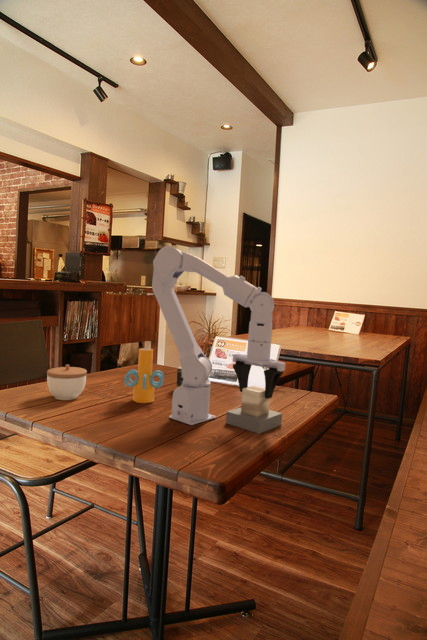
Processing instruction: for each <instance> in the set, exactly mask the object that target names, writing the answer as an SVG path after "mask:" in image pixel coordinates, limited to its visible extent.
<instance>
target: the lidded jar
mask: <svg viewBox="0 0 427 640" xmlns="http://www.w3.org/2000/svg"><path fill="white" fill-rule="evenodd" d="M87 374H88V371H87V369H86V368H84V367H83V368H82V367H76V366H70V364H65V366H61V367H60V366H59V367H53V368H49V369H48V370H47V371H46V376H47V378H46V380H47V388H48V390H49V392H50V394H51V395H52V396H53V397H54V399H56V400H58V401H70V400H75V399H77V398H78V397H79V396H80V395H81V394H82V393H83V392H84V389H85V387H86V383H87Z"/></svg>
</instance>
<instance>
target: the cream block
mask: <svg viewBox="0 0 427 640" xmlns="http://www.w3.org/2000/svg"><path fill="white" fill-rule="evenodd" d="M270 400H271V398H269V399H266V398H265V387H261V386H256V385H251V386H248V387H246V388H243V390H242V392H241V412H243V413H246V414H250V415H253V416H257V417H258V416H261V415H264V414H267V413H269V410H270Z"/></svg>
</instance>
